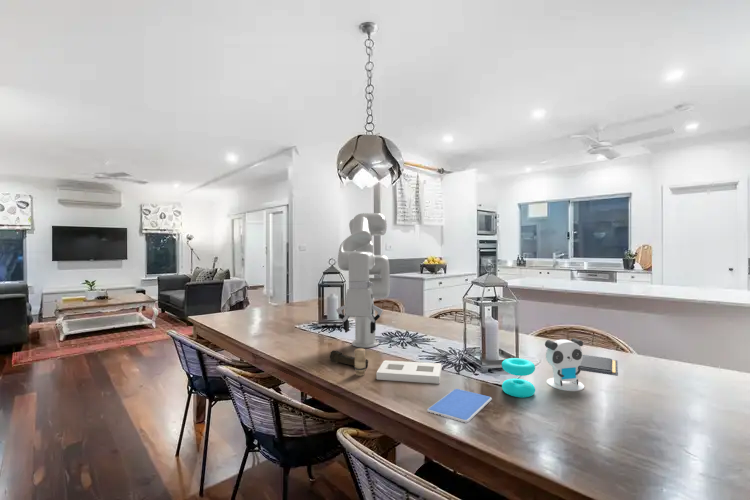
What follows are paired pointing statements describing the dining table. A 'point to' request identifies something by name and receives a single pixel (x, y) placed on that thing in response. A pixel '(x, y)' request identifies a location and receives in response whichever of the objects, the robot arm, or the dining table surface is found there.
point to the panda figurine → (565, 364)
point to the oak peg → (360, 362)
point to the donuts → (518, 385)
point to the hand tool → (343, 358)
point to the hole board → (409, 371)
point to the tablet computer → (460, 405)
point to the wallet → (599, 365)
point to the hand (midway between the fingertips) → (359, 332)
